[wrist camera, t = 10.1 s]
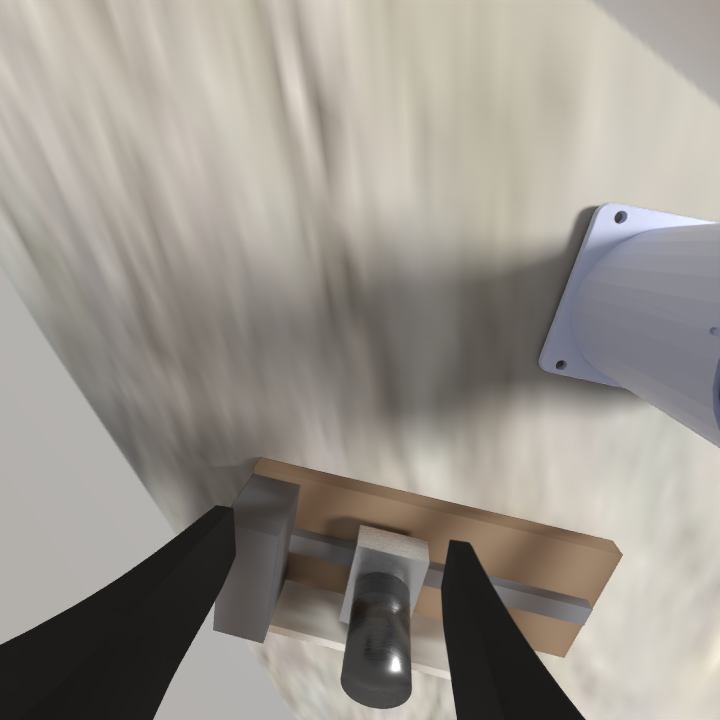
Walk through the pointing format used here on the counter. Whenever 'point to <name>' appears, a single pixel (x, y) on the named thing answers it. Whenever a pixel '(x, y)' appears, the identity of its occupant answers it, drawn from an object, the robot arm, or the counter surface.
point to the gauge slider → (381, 616)
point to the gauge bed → (406, 517)
